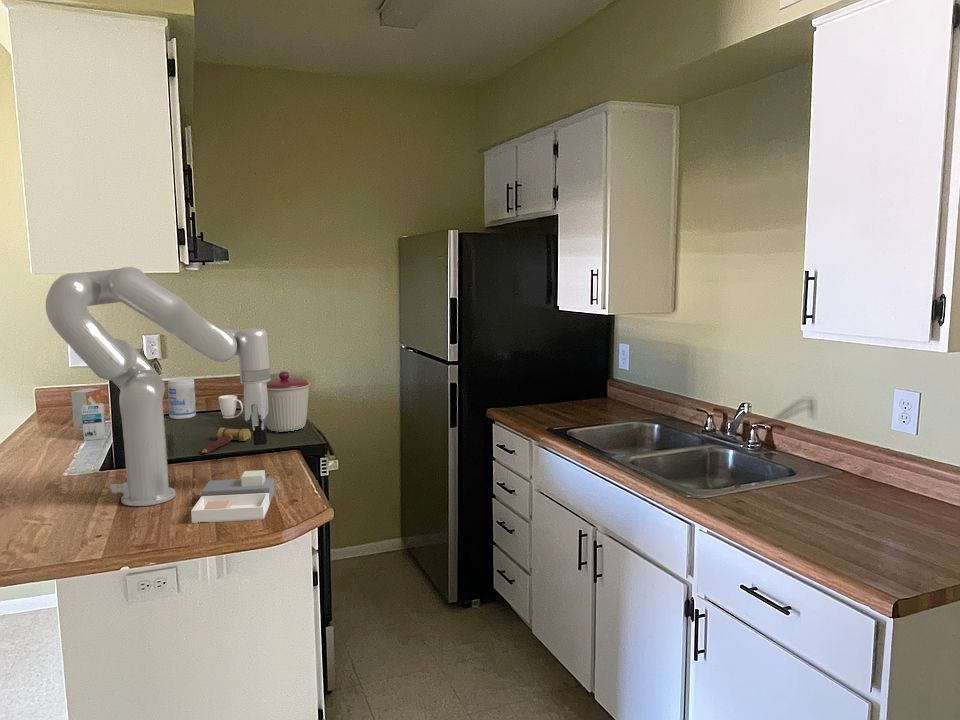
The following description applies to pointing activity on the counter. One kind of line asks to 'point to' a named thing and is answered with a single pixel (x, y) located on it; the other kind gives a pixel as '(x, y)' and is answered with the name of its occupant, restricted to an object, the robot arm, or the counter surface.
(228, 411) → the cup
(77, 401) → the small box
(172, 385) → the supplement tub
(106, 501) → the counter surface
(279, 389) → the canister
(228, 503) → the tile
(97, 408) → the light bulb box
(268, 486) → the plate
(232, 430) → the gavel
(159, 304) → the robot arm
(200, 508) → the tray
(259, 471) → the tile
